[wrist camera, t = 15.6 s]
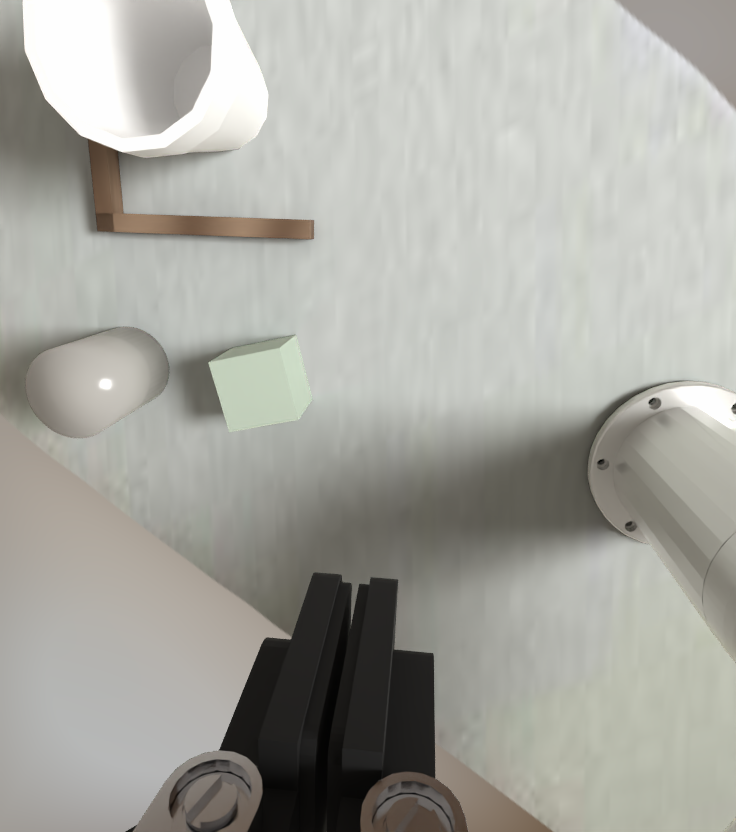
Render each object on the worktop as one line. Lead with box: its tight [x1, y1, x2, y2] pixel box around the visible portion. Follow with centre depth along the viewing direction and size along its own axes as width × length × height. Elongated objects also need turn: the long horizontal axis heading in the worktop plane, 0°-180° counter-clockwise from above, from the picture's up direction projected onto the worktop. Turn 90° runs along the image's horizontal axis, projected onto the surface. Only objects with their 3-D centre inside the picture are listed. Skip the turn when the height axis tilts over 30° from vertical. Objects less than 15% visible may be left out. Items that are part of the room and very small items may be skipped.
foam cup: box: [23, 0, 268, 158], centre depth 32 cm, size 10×9×13 cm
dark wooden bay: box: [88, 139, 314, 239], centre depth 38 cm, size 15×16×2 cm
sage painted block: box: [208, 335, 312, 432], centre depth 41 cm, size 5×5×5 cm
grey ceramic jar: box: [25, 327, 169, 438], centre depth 41 cm, size 6×6×8 cm
